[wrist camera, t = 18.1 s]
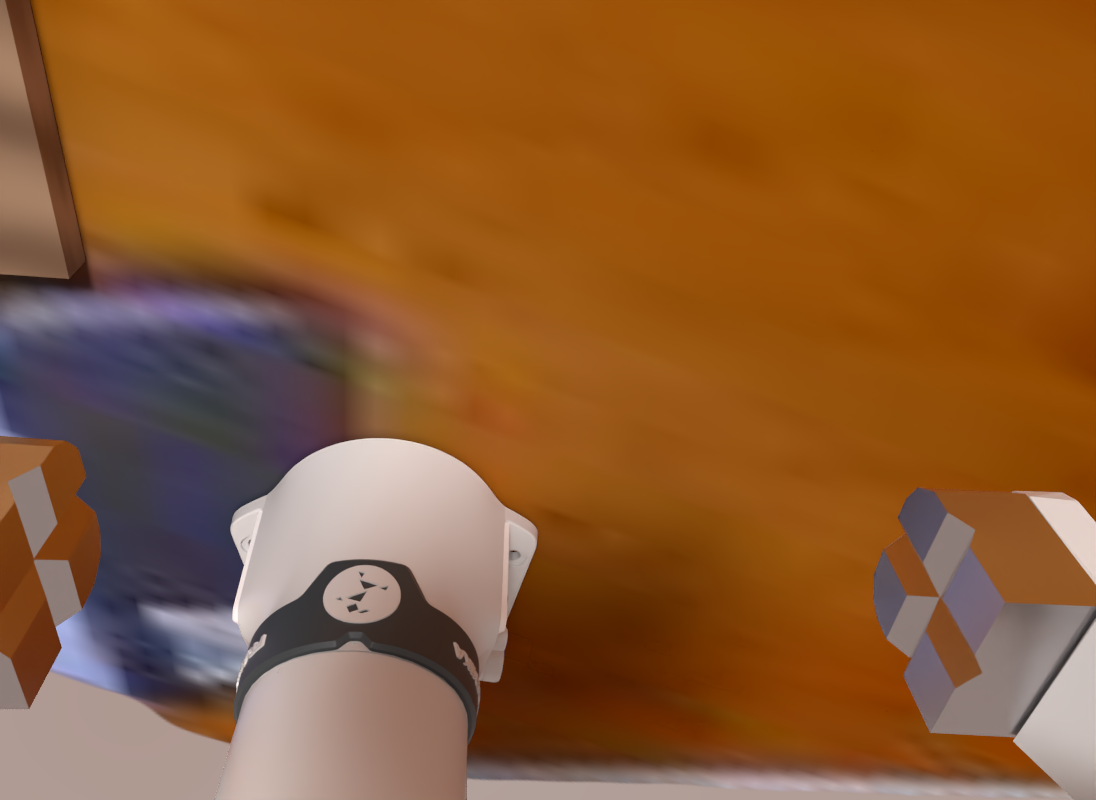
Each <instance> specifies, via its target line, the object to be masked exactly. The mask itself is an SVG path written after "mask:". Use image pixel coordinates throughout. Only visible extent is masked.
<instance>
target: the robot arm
mask: <svg viewBox="0 0 1096 800" xmlns="http://www.w3.org/2000/svg"><path fill="white" fill-rule="evenodd" d="M85 478H86V474H85V470H84V467H83V464H82V460H81V457H80V454H79V451H78V448H76V447H75V446H73V445H72V444H70V443H68V442H67V441H59V440H46V439H32V438H19V437H6V436H0V709H29V708H30V706H31V704H32V702H33V701H34V699H35V697H36V695H37V693H38V691H39V689H40V687H41V686H42V684H43V682H44V680H45V678H46V676H47V674H48V672H49V671H50V669H51V667H52V665H53V663H54V661H55V659H56V657H57V656H58V654H59V652H60V650H61V648H62V647H61V644H60V641H59V637H58V634H57V631H56V628H55V627H56V626H58V625H59V624H61V623H62V622H64V621H65V620H67V619H68V618H70V617H71V616H73V615H74V614H76V613H77V612H79V611H80V610H82V608H83V606H84V604H85V602H86V600H87V598H88V596H89V594H90V592H91V590H92V588H93V586H94V582H95V578H96V574H97V569H98V565H99V560H100V556H101V551H100V530H99V525H98V521H97V517H96V513H95V512H94V511H93V510H92V509H91V508H90V507H89V506H88V505H86V504H85V503H84V502H83V501H82V500H81V499H80V498H78V497H77V496H76V495H75V494H76V492H77V491H78V489H79V487H80V486H81V484H82V482H83V481H84V479H85ZM898 519H899V521H900V523H901V526H902V528H903V530H904V532H905V534H904V535H903V536H902V537H900V538H899V539H897V540H896V541H895V542H893V543H892V544H890V545H889V546H888V547H886V548H885V549H884V550H883V553H882V555H881V558H880V560H879V563H878V565H877V568H876V571H875V573H874V595H873V600H874V604H875V609H876V614H877V618H878V621H879V623H880V625H881V628H882V630H883V632H884V634H885V637H886V639H887V640H888V641H890V642H891V643H892V644H893V645H895V646H896V647H897V648H898V649H900V650H901V651H902V652H903V653H905V654H906V655H907V656H908V657H909V660H908V663H907V666H906V669H905V672H904V674H903V676H904V678H905V680H906V682H907V684H908V686H909V689H910V691H911V693H912V695H913V697H914V699H915V701H916V703H917V706H918V708H919V710H920V712H921V714H922V716H923V718H924V720H925V722H926V725H927V727H928V729H929V731H930V733H946V734H965V735H983V736H1002V737H1015V739H1014V740H1013V742H1014V743H1015V744H1016V745H1017V746H1018V747H1020V748H1021V749H1022V750H1023V751H1024V752H1025V753H1026V754H1027V755H1028V756H1029V757H1030V758H1031V759H1032V760H1033V761H1034V762H1035V763H1036V764H1037V765H1038V766H1039V767H1040V768H1042V769H1043V770H1044V771H1045V772H1046V773H1047V774H1048V775H1049V776H1050V777H1051V778H1052V779H1053V780H1054V781H1055V782H1056V783H1057V784H1058V785H1059V786H1060V787H1061V788H1062V789H1064V790H1065V791H1066V792H1067V793H1068V794H1069V795H1070V796H1071V797H1072V798H1073V799H1074V800H1096V522H1095V521H1094V520H1093V519H1092V518H1091V516H1090V515H1089V514H1088V513H1087V512H1086V510H1085V509H1084V508H1083V507H1082V506H1081V505H1080V503H1079V502H1078V501H1077V500H1075V499H1073V498H1071V497H1069V496H1068V495H1066V494H1064V493H1062V492H1031V491H1013V492H996V491H975V490H955V489H934V488H917V489H916V490H915V491H914V492H913V493H912V494H911V495H910V496H909V497H908V498H907V499H906V501H905V503H904V505H903V507H902V510H901V512H900V514H899V516H898ZM230 531H231V535H232V537H233V540H234V542H235V544H236V547H237V549H238V552H239V554H240V557H241V559H242V561H243V564H244V568H243V572H242V575H241V579H240V583H239V587H238V591H237V595H236V599H235V602H234V607H233V621H234V622H236V623H237V624H239V629H240V632H241V635H242V637H243V639H244V641H245V642H246V644H247V645H248V647H249V648H248V652H247V655H246V656H245V657H244V660H243V662H242V665H241V668H240V672H239V676H238V679H237V685H236V688H237V691H236V697H235V701H234V718H235V722H236V728H235V731H234V734H233V738H232V741H231V745H230V748H229V751H228V755H227V758H226V761H225V765H224V768H223V772H222V775H221V778H220V782H219V785H218V789H217V792H216V795H215V799H214V800H467V793H466V792H467V791H466V790H467V789H466V788H467V746H468V744H469V743H470V740H471V738H472V736H473V734H474V730H475V726H476V719H477V714H478V709H479V703H480V681H487V682H494V683H495V682H498V681H499V680H500V677H501V673H502V669H503V662H504V650H505V648H506V644H507V638H508V629H507V628H506V621H507V618H508V616H509V614H510V611H511V609H512V606H513V604H514V601H515V599H516V596H517V594H518V591H519V589H520V586H521V584H522V582H523V579H524V577H525V574H526V572H527V569H528V567H529V564H530V562H531V559H532V557H533V554H534V552H535V549H536V546H537V539H538V531H537V528H536V527H535V526H534V525H533V524H532V523H531V522H530V521H529V520H527V519H526V518H524V517H523V516H521V515H519V514H517V513H516V512H514V511H512V510H510V509H508V508H507V507H505V506H504V505H503V504H502V503H501V502H500V501H499V500H498V499H497V498H496V497H495V495H494V494H493V492H492V491H491V490H490V488H489V487H488V486H487V484H486V483H485V482H484V481H483V480H482V479H481V478H480V477H479V476H478V475H477V474H476V473H475V472H474V471H473V470H472V469H470V468H469V467H468V466H466V465H465V464H464V463H462V462H461V461H459V460H457V459H456V458H454V457H452V456H450V455H448V454H446V453H444V452H442V451H440V450H437V449H435V448H432V447H429V446H426V445H423V444H419V443H415V442H410V441H405V440H398V439H388V438H369V439H358V440H352V441H347V442H342V443H338V444H335V445H332V446H329V447H326V448H324V449H321V450H319V451H317V452H315V453H313V454H311V455H309V456H308V457H306V458H305V459H303V460H302V461H300V462H299V463H298V464H296V465H295V466H294V467H293V468H292V469H291V470H290V471H289V472H288V473H287V474H286V475H285V476H284V478H283V479H282V480H281V481H280V482H279V484H278V485H277V486H276V487H275V488H274V489H273V490H272V491H271V492H270V493H269V494H268V495H266V496H263V497H261V498H259V499H256V500H254V501H252V502H250V503H248V504H246V505H244V506H243V507H241V508H239V509H238V510H237V511H236V512H235V513H234V515H233V518H232V523H231V528H230ZM512 550H515V551H517V552H510V551H512Z"/></svg>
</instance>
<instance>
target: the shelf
mask: <svg viewBox="0 0 1096 800" xmlns="http://www.w3.org/2000/svg"><path fill="white" fill-rule="evenodd" d="M85 261H86V260H85V255H84V251H83V246H82V241H81V237H80V232H79V227H78V223H77V218H76V213H75V209H74V204H73V199H72V195H71V190H70V186H69V181H68V176H67V172H66V167H65V162H64V158H63V153H62V148H61V144H60V139H59V134H58V130H57V125H56V121H55V116H54V111H53V107H52V102H51V97H50V93H49V88H48V83H47V79H46V74H45V69H44V65H43V60H42V56H41V51H40V46H39V42H38V37H37V32H36V28H35V23H34V18H33V14H32V9H31V4H30V0H0V274H7V275H21V276H35V277H49V278H63V279H70V278H71V276H72V275H73V274H74V273H75V272H76V271H77V270H78V269H79V268H80V267H81V266H82V265H83V263H84V262H85Z"/></svg>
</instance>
